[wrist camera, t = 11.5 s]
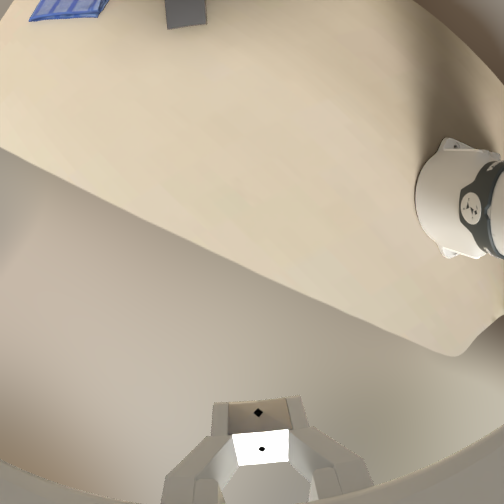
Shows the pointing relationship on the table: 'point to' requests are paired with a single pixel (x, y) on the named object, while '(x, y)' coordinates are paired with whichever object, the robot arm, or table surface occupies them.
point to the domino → (185, 13)
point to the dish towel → (67, 9)
